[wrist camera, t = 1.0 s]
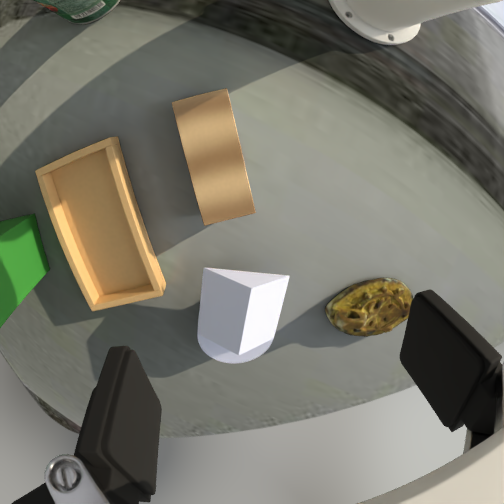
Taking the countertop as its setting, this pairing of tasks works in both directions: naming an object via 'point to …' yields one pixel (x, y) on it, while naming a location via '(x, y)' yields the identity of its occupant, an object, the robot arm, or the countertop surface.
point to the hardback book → (19, 262)
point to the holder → (101, 226)
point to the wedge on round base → (239, 313)
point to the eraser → (214, 156)
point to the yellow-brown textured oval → (370, 307)
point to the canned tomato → (80, 9)
